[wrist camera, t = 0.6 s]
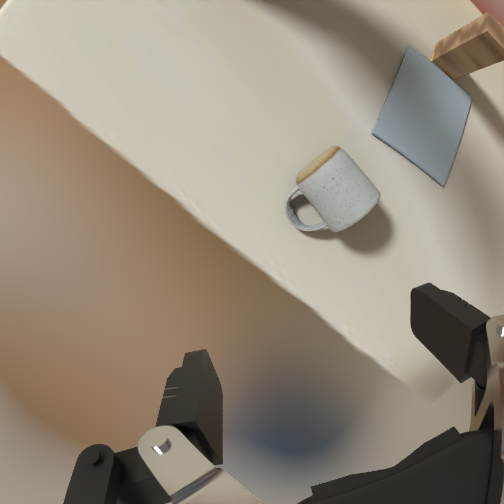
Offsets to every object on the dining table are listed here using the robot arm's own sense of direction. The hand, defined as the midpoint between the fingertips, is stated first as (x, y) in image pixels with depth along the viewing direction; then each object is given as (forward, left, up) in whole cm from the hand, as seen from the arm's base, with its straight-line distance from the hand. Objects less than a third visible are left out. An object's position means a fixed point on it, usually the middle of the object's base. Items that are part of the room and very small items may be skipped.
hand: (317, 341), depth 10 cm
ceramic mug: (-4, +8, -29) cm, 30 cm away
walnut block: (-27, +32, -28) cm, 50 cm away
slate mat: (-17, +26, -28) cm, 42 cm away
